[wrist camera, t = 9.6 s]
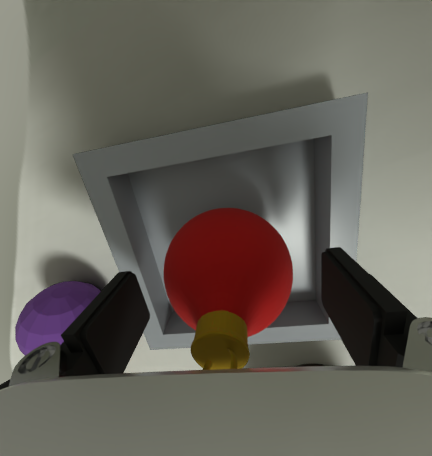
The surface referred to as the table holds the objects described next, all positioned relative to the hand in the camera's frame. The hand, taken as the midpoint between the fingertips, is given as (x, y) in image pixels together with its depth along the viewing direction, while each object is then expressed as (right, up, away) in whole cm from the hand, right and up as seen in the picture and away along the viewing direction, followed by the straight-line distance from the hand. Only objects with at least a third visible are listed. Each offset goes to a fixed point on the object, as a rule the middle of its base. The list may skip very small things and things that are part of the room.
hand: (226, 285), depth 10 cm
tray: (0, +2, +5) cm, 6 cm away
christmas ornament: (0, +2, +5) cm, 5 cm away
